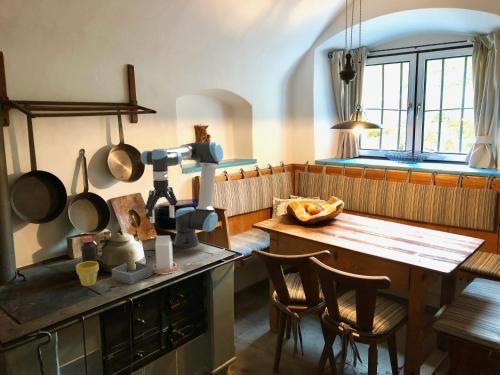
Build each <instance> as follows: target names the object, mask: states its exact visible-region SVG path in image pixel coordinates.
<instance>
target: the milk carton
mask: <svg viewBox="0 0 500 375" xmlns="http://www.w3.org/2000/svg"><path fill="white" fill-rule="evenodd" d="M154 249H155V264H156V265H157V269H158V270H166V269H171V268H173V262H174V261H173V260H174V257H173V243H172V239H171V235H156V237H155V248H154Z"/></svg>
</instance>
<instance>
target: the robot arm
mask: <svg viewBox="0 0 500 375" xmlns="http://www.w3.org/2000/svg"><path fill="white" fill-rule="evenodd" d="M223 158H224V151H223V148H222V146H221V144H220V143H219V142H215V141H214V142H212V141H207V142H206V141H201V142H200V141H195V142H190V143H186V144H181V145H180V146H178V147H169V148H154V149H152V150H144V151H142V153H141V154H140V161H141V164H143V165H147V166H152V179H153V180H152V183H153V184H152V185H153V189H154V190H151V189H150V190H149V192H148V197H147V200H146V203H145V206H144V209H145V210H147V211H148V217H149V223H150V224H155V219H156V218H155V209H154V208H155V206H156V205H157V203H158V201H159V199H162V198H165V200H166V201H167V202H168V203H169V205H168V207H169V208H168V210H169V218H171V219H175V230H176V235H175V238H174V241H173V245H174V246H175V247H176V248H180V249H189V248H194V247H197V246H198V245H199V239H198V236H197V233H196V231H203V232H212V231H213V230H215V228H216V227H217V225H218V221H219V217H218V214H217V213H216V211H215V208H214V206H213V205H214V194H215V182H216V181H215V180H216V170H217V167H218V166H219V164H220V162H222V161H223ZM182 161H195V162H199V165H200V167H201V170H200V171H201V172H200V181H199V182H200V184H199V193H198V206H196V207H192V206H190V207H189V206H188V207H182V208H179V209H175V206H177V204H178V200H177V197H176V195H175V192H174V190H173V187H172V186H169V179H168V178H169V169H168V167H173V166H178V165H181V163H182ZM175 210H176V211H175Z"/></svg>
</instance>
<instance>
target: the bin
mask: <svg viewBox="0 0 500 375" xmlns="http://www.w3.org/2000/svg"><path fill="white" fill-rule="evenodd" d="M135 261H136V260H135ZM135 264H136V270H133V271H128V272H127V270H126V268H127V264H126V263H123V264H121V265H119V266H116V267H114V268H111V277H112V278H113V280H115V279H116V281H118V280H119V282H121V281H122V282H121V283H125V282H126V283H125V284H128V283H130V284H129V285H132V284H131V283H133V282H136V281H138V280H140V279H142V278H145V277H147V276H149V275H151V276H153V266H152V265H150V264H146V263H143V262H139V261H136V262H135ZM149 277H150V276H149ZM112 278H111V279H112ZM147 278H148V277H147ZM145 279H146V278H145ZM142 280H143V279H142ZM140 281H141V280H140ZM138 282H139V281H138ZM136 283H137V282H136ZM133 284H134V283H133Z"/></svg>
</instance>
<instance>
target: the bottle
mask: <svg viewBox="0 0 500 375" xmlns="http://www.w3.org/2000/svg"><path fill="white" fill-rule="evenodd" d="M81 238H82V239H81V242H82V246H80V247H81V248H80V251H81V258H82V259H81V260H82V262H87V261H95V262H97V251H96V250H97V249H96V245H95V244H94V243H93V242H94V240H93V235H85V236H83V237H81ZM82 262H81V263H82ZM98 271H99V270H98ZM98 271H97V273H99V272H98Z"/></svg>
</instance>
